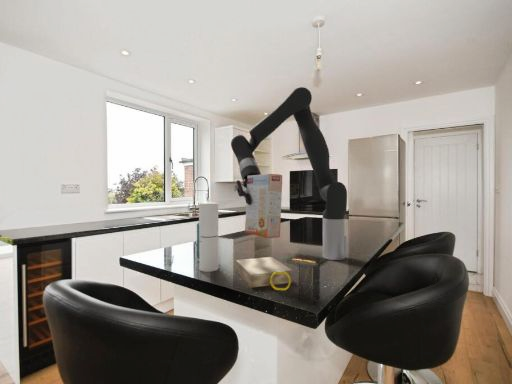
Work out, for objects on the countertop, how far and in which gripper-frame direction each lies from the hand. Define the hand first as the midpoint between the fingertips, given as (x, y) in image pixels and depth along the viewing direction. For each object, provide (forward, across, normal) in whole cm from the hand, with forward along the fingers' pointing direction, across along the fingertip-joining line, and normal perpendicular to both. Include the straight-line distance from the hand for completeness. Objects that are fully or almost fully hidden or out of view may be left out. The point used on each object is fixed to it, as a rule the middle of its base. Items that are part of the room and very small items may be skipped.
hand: (260, 203), depth 95 cm
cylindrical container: (+9, -16, +27) cm, 33 cm away
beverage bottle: (+1, -16, +36) cm, 39 cm away
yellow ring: (+29, +1, +7) cm, 30 cm away
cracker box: (+9, 0, +7) cm, 11 cm away
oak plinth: (+19, 0, +16) cm, 25 cm away
